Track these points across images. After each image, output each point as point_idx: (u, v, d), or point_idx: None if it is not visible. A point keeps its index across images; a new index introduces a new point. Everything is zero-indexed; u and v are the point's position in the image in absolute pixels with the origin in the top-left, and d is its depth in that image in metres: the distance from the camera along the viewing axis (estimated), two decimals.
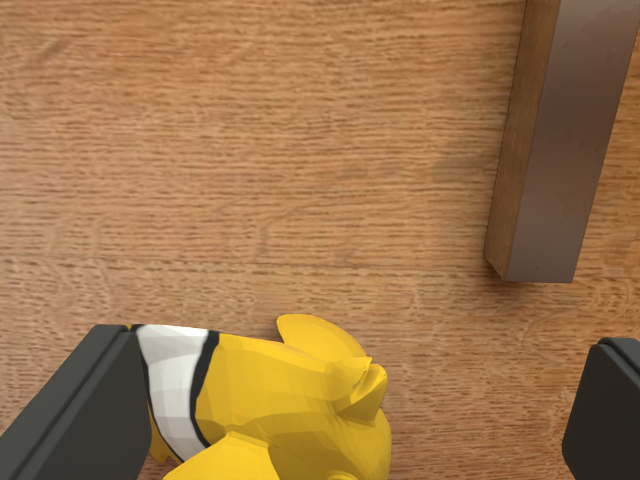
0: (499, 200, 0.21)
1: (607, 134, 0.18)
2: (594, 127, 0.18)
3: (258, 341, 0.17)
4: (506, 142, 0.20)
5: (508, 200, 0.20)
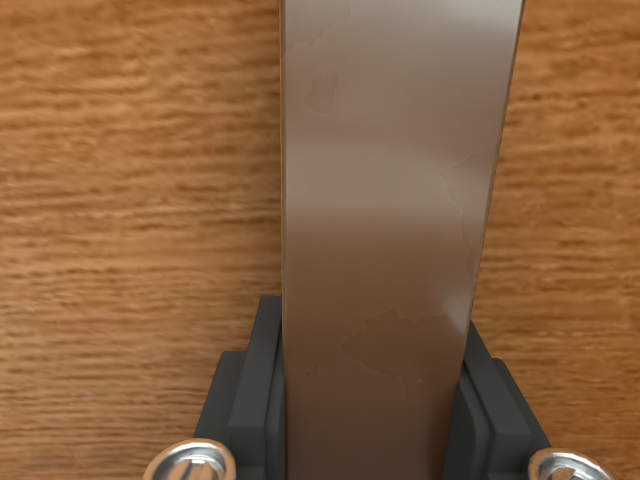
0: None
1: None
2: None
3: None
4: None
5: None
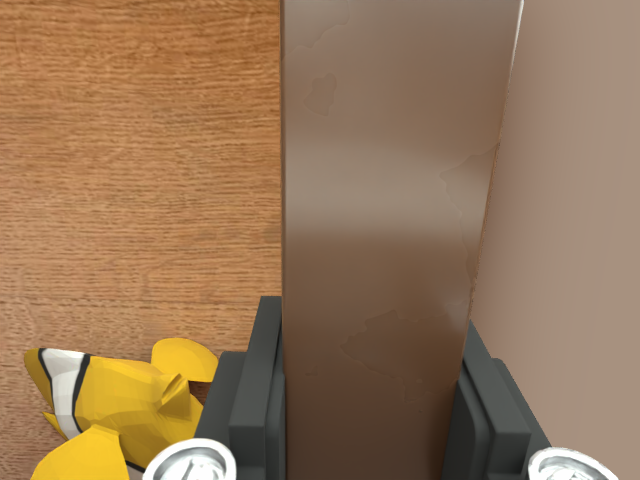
0: None
1: None
2: None
3: (114, 362, 0.25)
4: None
5: None
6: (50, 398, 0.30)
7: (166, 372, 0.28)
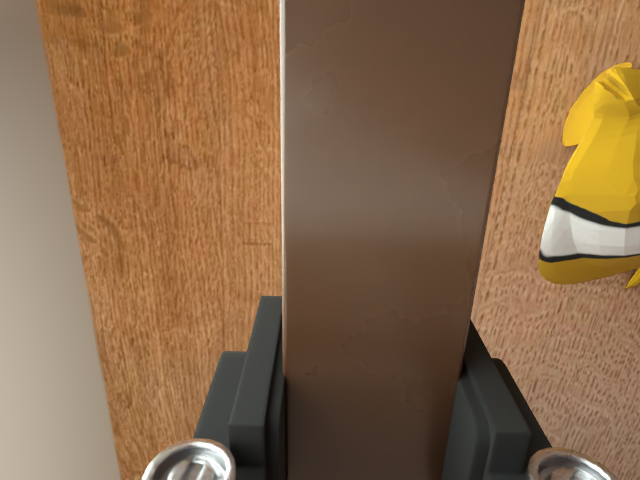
0: None
1: None
2: None
3: (566, 167, 0.22)
4: None
5: None
6: (604, 263, 0.27)
7: None
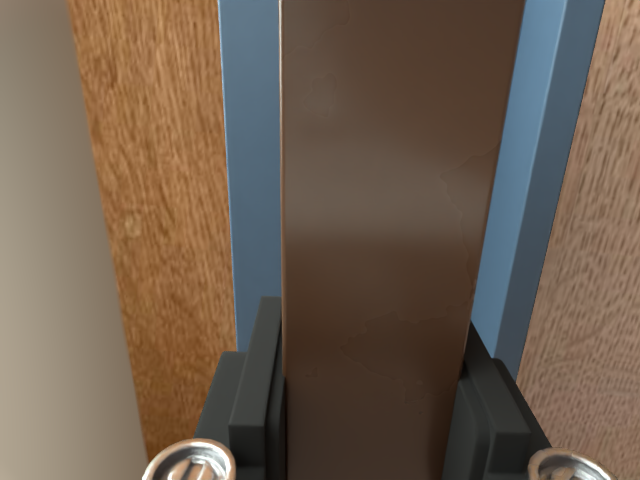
0: None
1: None
2: None
3: None
4: None
5: None
6: None
7: None
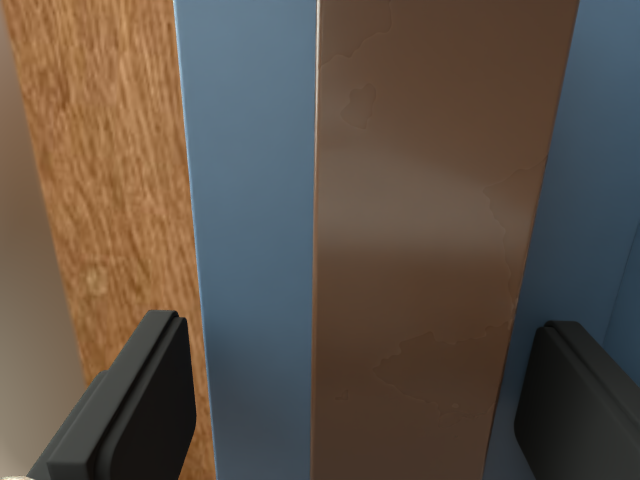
0: None
1: None
2: None
3: None
4: None
5: None
6: None
7: None
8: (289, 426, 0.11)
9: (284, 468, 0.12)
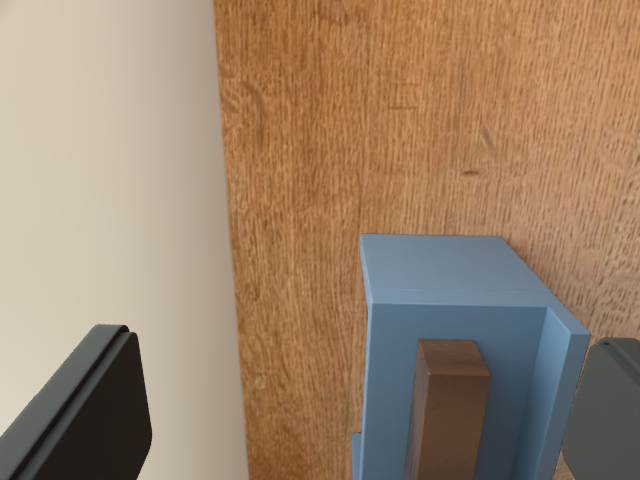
0: None
1: None
2: None
3: None
4: None
5: None
6: None
7: None
8: (393, 475, 0.28)
9: None
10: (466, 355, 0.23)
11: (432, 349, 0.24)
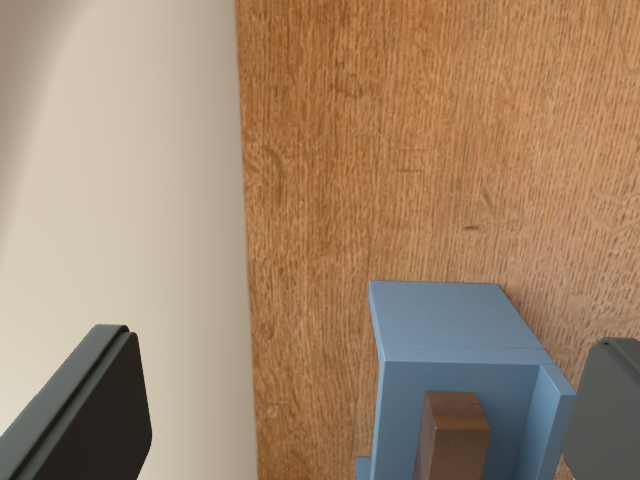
0: None
1: None
2: None
3: None
4: None
5: None
6: None
7: None
8: None
9: None
10: (468, 408, 0.26)
11: (438, 402, 0.27)
